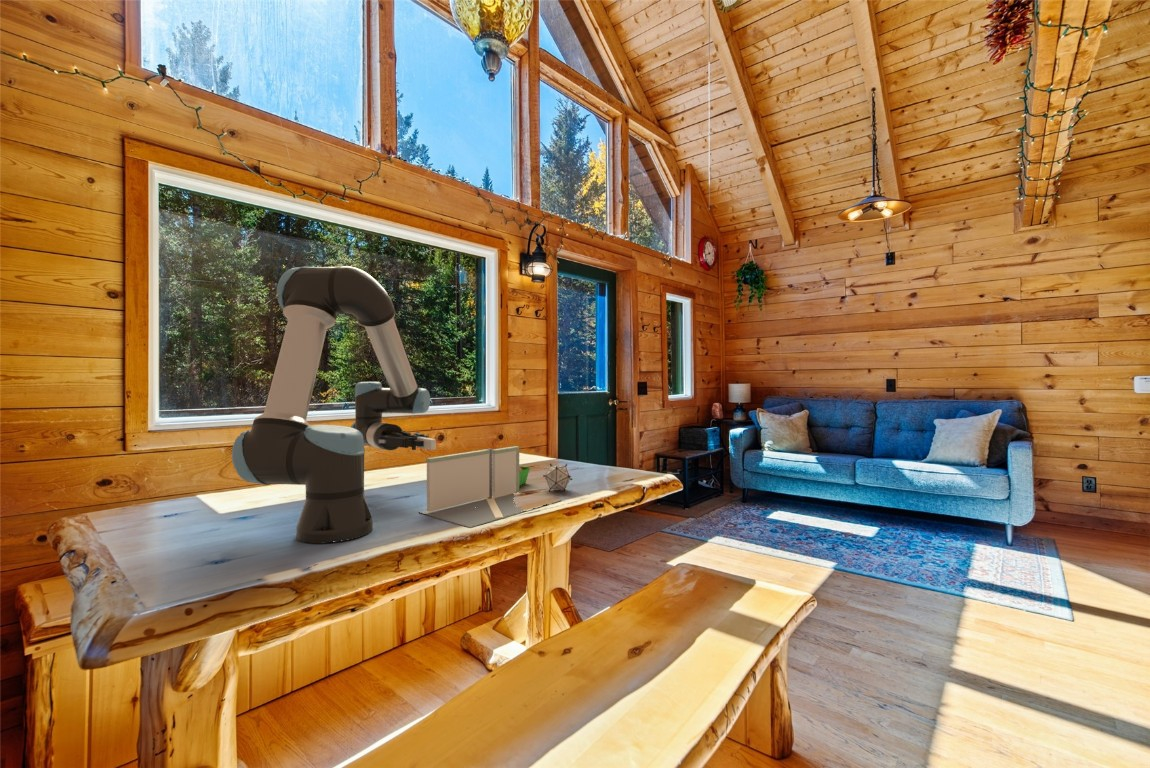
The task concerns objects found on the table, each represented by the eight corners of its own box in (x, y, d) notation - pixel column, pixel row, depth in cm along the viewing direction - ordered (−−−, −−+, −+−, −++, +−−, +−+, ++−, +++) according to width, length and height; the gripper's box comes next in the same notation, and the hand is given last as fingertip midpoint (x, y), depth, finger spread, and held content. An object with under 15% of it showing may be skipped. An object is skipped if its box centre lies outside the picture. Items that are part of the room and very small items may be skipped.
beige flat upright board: (430, 513, 127) (430, 458, 127) (426, 512, 128) (426, 457, 128) (493, 497, 143) (493, 448, 143) (489, 496, 144) (489, 448, 144)
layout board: (470, 528, 116) (470, 526, 116) (418, 512, 129) (418, 511, 129) (561, 501, 141) (561, 499, 141) (510, 490, 154) (510, 489, 154)
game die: (562, 501, 155) (580, 474, 158) (559, 498, 147) (578, 469, 150) (538, 485, 158) (556, 458, 160) (533, 481, 150) (553, 452, 152)
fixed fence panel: (495, 498, 144) (495, 450, 144) (491, 497, 145) (491, 449, 145) (519, 492, 151) (519, 446, 151) (515, 491, 152) (515, 446, 152)
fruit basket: (515, 490, 154) (515, 453, 154) (489, 488, 157) (489, 451, 157) (531, 483, 165) (531, 448, 165) (506, 481, 168) (506, 446, 167)
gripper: (405, 446, 155) (454, 455, 140) (364, 452, 145) (411, 462, 130) (405, 421, 154) (453, 427, 139) (364, 425, 144) (411, 433, 129)
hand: (433, 444), depth 134 cm, fingers closed
